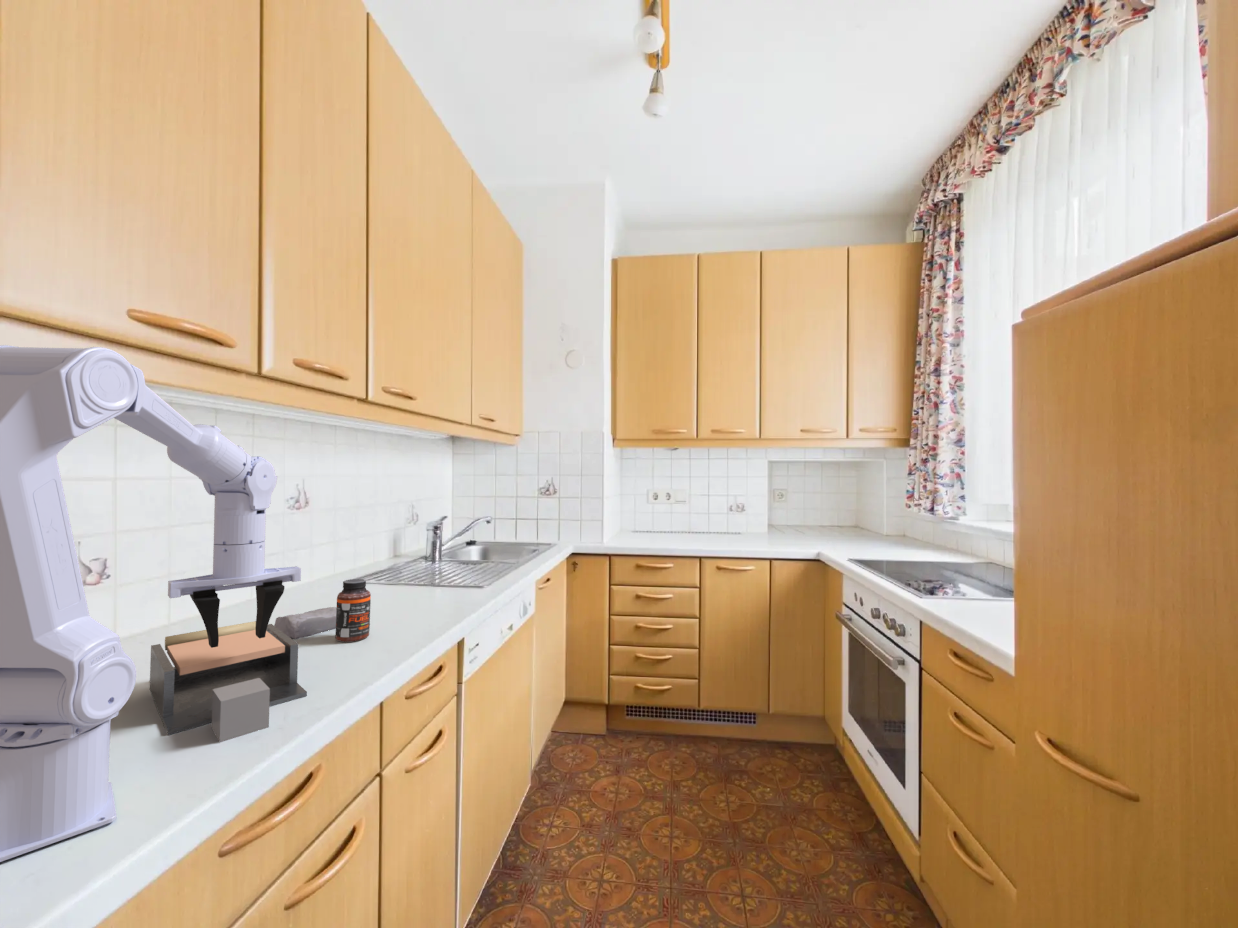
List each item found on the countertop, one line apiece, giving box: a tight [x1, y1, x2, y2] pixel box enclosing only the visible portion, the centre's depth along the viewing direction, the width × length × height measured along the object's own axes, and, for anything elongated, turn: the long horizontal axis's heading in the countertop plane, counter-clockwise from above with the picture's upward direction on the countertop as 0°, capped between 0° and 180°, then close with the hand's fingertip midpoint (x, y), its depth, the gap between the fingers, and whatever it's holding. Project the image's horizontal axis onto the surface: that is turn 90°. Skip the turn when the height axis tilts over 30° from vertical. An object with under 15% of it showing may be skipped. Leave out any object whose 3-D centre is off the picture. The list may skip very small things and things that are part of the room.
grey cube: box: [210, 678, 270, 743], centre depth 64 cm, size 5×5×5 cm
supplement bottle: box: [335, 578, 372, 643], centre depth 99 cm, size 6×6×11 cm
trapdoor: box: [164, 620, 285, 675], centre depth 76 cm, size 12×15×2 cm
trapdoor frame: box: [149, 623, 308, 736], centre depth 74 cm, size 15×19×6 cm
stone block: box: [274, 606, 337, 640], centre depth 105 cm, size 12×5×10 cm
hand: (237, 640), depth 69 cm, fingers open, 5 cm apart
